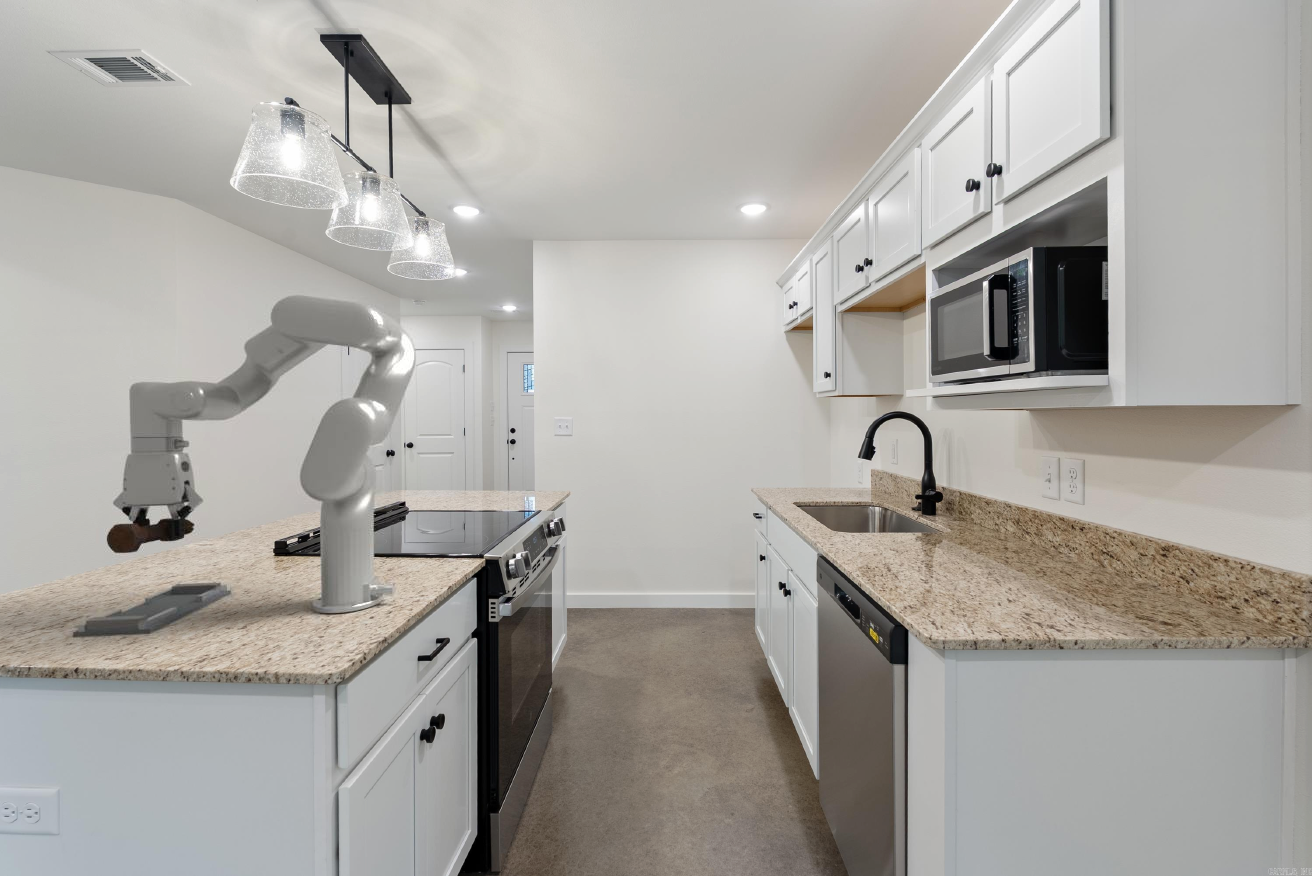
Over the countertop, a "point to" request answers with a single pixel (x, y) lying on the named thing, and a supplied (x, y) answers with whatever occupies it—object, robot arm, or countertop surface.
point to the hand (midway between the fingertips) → (159, 539)
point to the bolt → (140, 535)
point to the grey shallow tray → (120, 622)
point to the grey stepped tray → (181, 602)
